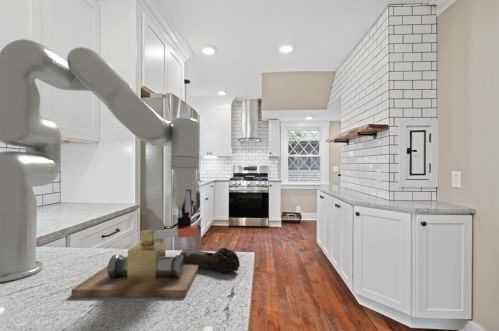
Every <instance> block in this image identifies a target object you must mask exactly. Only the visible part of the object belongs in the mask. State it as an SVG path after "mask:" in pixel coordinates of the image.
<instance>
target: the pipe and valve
mask: <svg viewBox="0 0 499 331" xmlns="http://www.w3.org/2000/svg"><path fill="white" fill-rule="evenodd" d="M107 266H108V268H107V273H108V277H109V278H117V277H118V276H127V282H156V281H157V279H158V278H159V277H160V276H173V277H174V278H180V277H181V276H182V274H183V271H184V256H183V255H180V254H176V255H174V256H166V242H155V245H153V246H146V247H144V246H141V241H140V242H139V243H137V244H135V245H134V246H133V247H131V248H129V249H128V250H127V256H124V255H122V254H113V255H112V256H111V257H110V259H109V261H108V263H107Z"/></svg>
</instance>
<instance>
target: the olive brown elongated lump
mask: <svg viewBox="0 0 499 331" xmlns="http://www.w3.org/2000/svg"><path fill="white" fill-rule="evenodd" d="M179 255H183V256H184V265H199V268H205V269H213V270H216V271H219V272H222V273H223V274H225V275H228V274H229V273H230V272H237V271H239V268H240V264H241V263H240V262H241V261H240V260H239V256H238V254H237V253H236V252H235V251H234V250H232V249H228V247H223V248H220V249H219V250H216V252H207V251H201V250H195V249H188V248H184V249H183V250H182V251H181V252H180V253H179Z"/></svg>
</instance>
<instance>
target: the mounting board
mask: <svg viewBox="0 0 499 331" xmlns="http://www.w3.org/2000/svg"><path fill="white" fill-rule="evenodd" d="M107 268H108V265H107V266H105V267H104V268H102V269H101V270H99V271H98V272H96V273H95V274H93V275H92V276H90V277H88V278H87V279H86V280H84V281H82V282H81V283H80V284H78V285H76V286H75V287H74V288H72V289H71V291H70V293H71V294H70V295H71V298H186V297H187V295H188V293H189V291H190V289H191V287H192V285H193V283H194V281H195V279H196V277H197V275H198V274H199V271H200V267H199V265H184V271H183V274H182V276H181V277H180V278H174V277H173V276H160V277H159V278H158V279H157V281H156V282H127V276H118V277H117V278H109V277H108V273H107Z"/></svg>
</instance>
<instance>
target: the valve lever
mask: <svg viewBox="0 0 499 331" xmlns="http://www.w3.org/2000/svg"><path fill="white" fill-rule="evenodd" d="M198 236H199V226H197V225H195V224H194V225H191V226H183V227H177V226H176V227H175V228H168V229H167V228H166V229H159V230H157V229H156V230H154V229H145V230H141V231H140V242H141V246H144V247H146V246H153V245H155V243H156V240H158V239H160V240H161V239H165V238H166V239H167V238H176V237H177V238H178V239H181V238H188V237H198Z"/></svg>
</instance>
